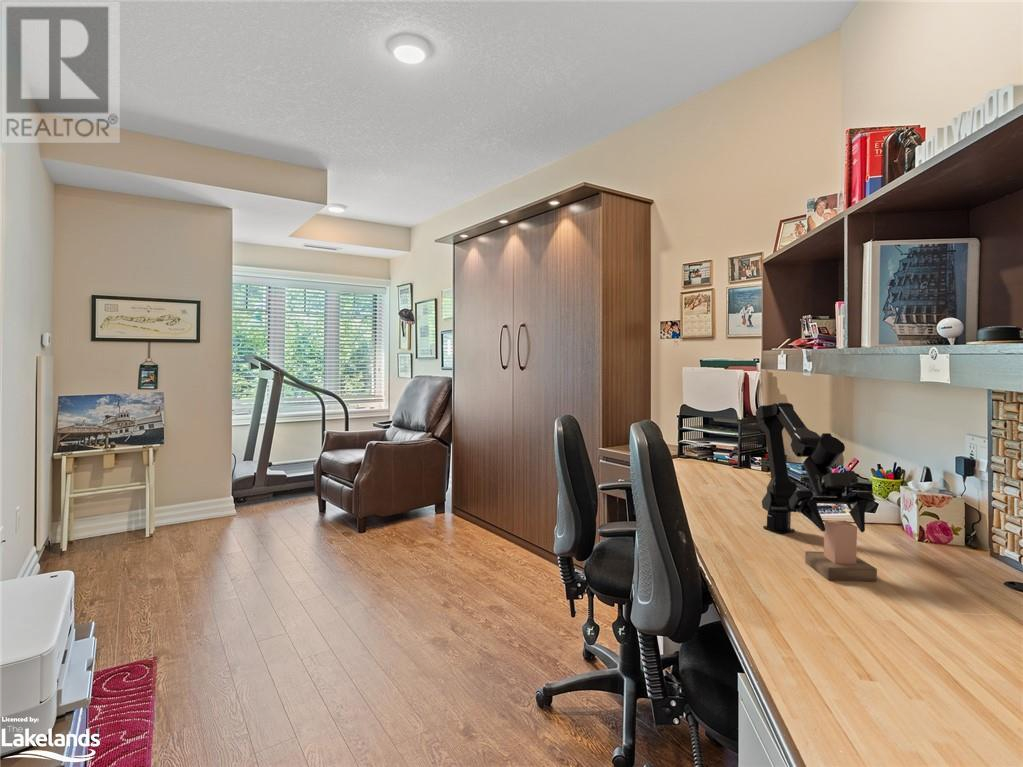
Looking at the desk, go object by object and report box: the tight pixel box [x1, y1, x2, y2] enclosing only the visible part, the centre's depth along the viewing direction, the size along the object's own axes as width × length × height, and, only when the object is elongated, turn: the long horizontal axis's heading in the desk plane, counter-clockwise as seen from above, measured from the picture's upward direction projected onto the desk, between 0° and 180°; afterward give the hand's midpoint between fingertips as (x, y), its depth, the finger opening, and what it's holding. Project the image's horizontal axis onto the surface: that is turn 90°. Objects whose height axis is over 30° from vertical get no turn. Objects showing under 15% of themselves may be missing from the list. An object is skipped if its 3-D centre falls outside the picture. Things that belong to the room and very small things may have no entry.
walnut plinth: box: [804, 550, 878, 582], centre depth 130 cm, size 11×11×3 cm
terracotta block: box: [823, 519, 858, 564], centre depth 129 cm, size 5×5×9 cm
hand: (843, 531), depth 128 cm, fingers open, 9 cm apart
